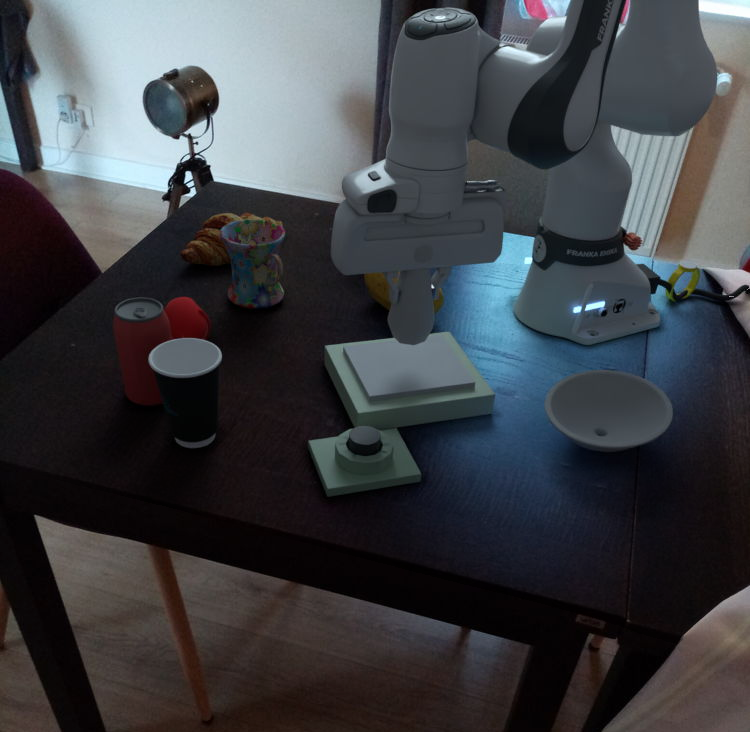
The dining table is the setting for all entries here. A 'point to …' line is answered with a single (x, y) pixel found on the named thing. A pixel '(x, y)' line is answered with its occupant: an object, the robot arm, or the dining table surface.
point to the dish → (608, 410)
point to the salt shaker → (413, 303)
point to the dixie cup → (189, 388)
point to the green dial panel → (363, 464)
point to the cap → (187, 319)
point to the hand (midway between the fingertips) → (413, 299)
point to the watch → (682, 267)
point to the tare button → (364, 441)
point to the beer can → (140, 346)
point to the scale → (407, 382)
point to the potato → (381, 290)
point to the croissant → (214, 240)
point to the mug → (254, 262)
